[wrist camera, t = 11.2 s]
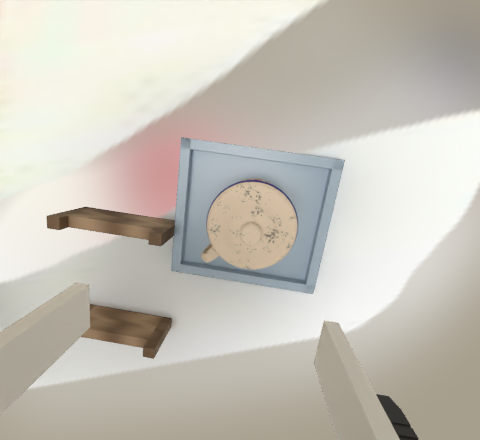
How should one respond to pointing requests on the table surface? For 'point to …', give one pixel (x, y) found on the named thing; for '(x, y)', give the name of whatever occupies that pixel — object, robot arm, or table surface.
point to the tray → (273, 171)
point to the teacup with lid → (251, 225)
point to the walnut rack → (109, 319)
